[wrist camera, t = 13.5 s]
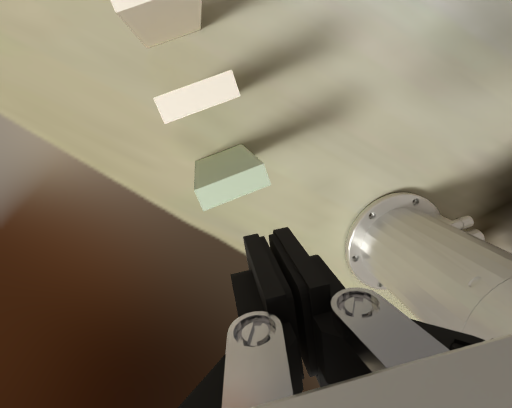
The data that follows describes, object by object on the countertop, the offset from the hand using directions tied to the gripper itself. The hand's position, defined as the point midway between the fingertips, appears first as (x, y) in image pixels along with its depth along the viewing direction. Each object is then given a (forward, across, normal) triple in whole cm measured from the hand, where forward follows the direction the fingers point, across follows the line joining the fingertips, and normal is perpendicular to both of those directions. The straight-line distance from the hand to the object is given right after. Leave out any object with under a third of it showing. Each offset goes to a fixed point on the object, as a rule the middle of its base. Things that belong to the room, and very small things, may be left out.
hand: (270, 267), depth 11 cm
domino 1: (+21, +2, -13) cm, 25 cm away
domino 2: (+21, +1, -7) cm, 22 cm away
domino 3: (+21, 0, -1) cm, 21 cm away
